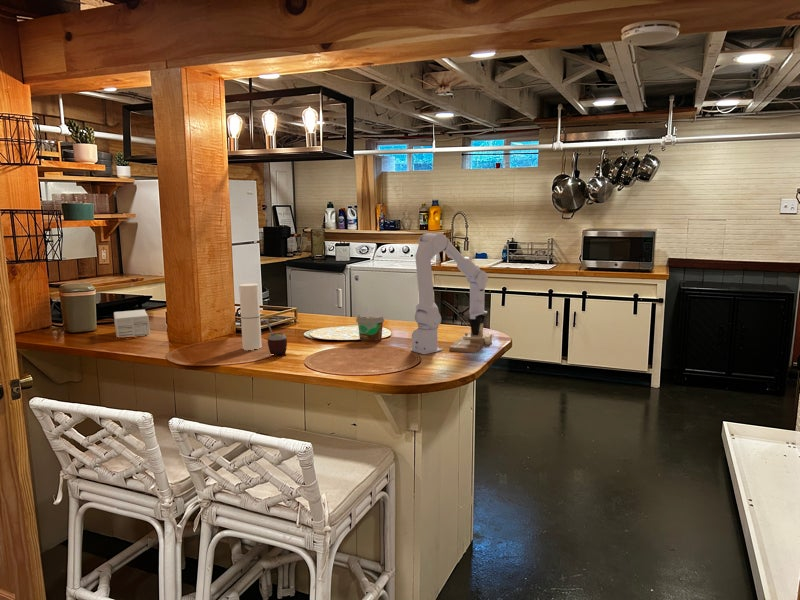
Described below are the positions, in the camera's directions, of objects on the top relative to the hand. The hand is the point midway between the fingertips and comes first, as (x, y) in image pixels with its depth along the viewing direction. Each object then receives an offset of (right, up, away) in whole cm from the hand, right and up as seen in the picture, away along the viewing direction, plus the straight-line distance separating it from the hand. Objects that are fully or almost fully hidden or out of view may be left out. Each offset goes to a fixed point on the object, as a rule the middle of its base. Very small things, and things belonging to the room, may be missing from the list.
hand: (476, 333), depth 231 cm
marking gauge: (0, -3, 0) cm, 3 cm away
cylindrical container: (-88, -6, -4) cm, 88 cm away
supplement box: (-148, -2, +25) cm, 150 cm away
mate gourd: (-76, -7, -16) cm, 78 cm away
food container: (-44, -4, +6) cm, 44 cm away
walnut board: (-4, -4, -4) cm, 7 cm away
